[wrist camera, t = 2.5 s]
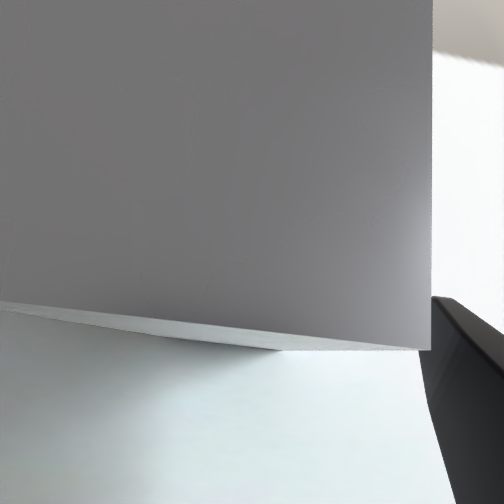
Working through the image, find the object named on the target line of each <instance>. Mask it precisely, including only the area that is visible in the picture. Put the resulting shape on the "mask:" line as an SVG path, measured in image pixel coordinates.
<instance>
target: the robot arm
mask: <svg viewBox="0 0 504 504" xmlns="http://www.w3.org/2000/svg"><path fill="white" fill-rule="evenodd" d="M418 351H419V357H420V363H421V369H422V375H423V381H424V387H425V393H426V398H427V403H428V408H429V411H430V415H431V419H432V422H433V426H434V429H435V433H436V436H437V440H438V443H439V446H440V450H441V453H442V457H443V460H444V464H445V467H446V471H447V474H448V478H449V481H450V484H451V488H452V491H453V495H454V498H455V502H456V504H504V335H503V334H502V333H501V332H499V331H498V330H496V329H495V328H493V327H492V326H491V325H489V324H488V323H486V322H485V321H484V320H482V319H481V318H479V317H478V316H477V315H475V314H474V313H472V312H471V311H470V310H468V309H467V308H465V307H464V306H463V305H461V304H460V303H458V302H457V301H456V300H454V299H452V298H447V297H438V296H432V297H431V350H418Z"/></svg>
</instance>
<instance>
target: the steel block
mask: <svg viewBox="0 0 504 504" xmlns="http://www.w3.org/2000/svg"><path fill="white" fill-rule="evenodd" d="M432 2H433V0H0V310H2V311H8V312H14V313H20V314H27V315H33V316H39V317H45V318H51V319H57V320H64V321H70V322H76V323H82V324H88V325H94V326H101V327H107V328H113V329H119V330H125V331H131V332H138V333H144V334H150V335H156V336H162V337H170V338H179V339H188V340H196V341H205V342H214V343H222V344H231V345H240V346H248V347H257V348H266V349H274V350H431V224H432V10H433V8H432V7H433V3H432Z"/></svg>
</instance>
